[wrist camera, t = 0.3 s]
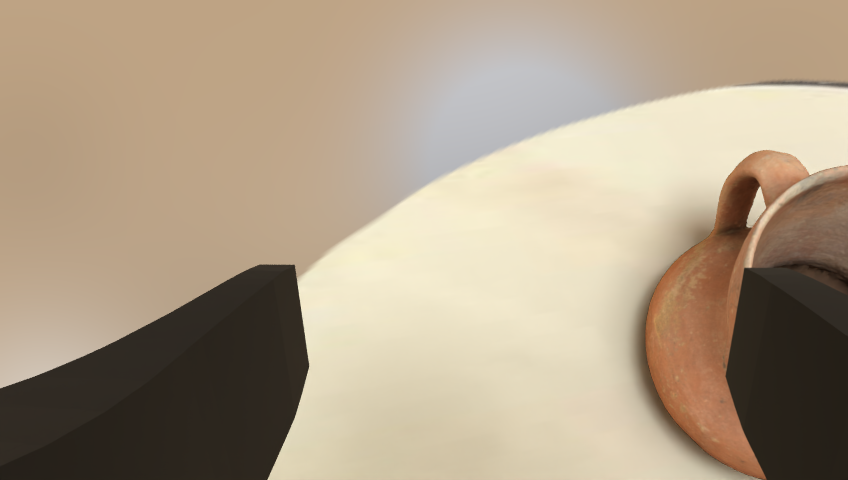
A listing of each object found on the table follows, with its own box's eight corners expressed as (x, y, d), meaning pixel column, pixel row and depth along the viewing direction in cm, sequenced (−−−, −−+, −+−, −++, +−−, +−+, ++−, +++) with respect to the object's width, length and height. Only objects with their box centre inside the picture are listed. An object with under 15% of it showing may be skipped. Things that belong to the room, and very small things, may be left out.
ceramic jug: (932, 481, 37) (1192, 477, 24) (682, 531, 37) (806, 555, 24) (809, 196, 44) (961, 69, 31) (595, 237, 44) (654, 127, 30)
